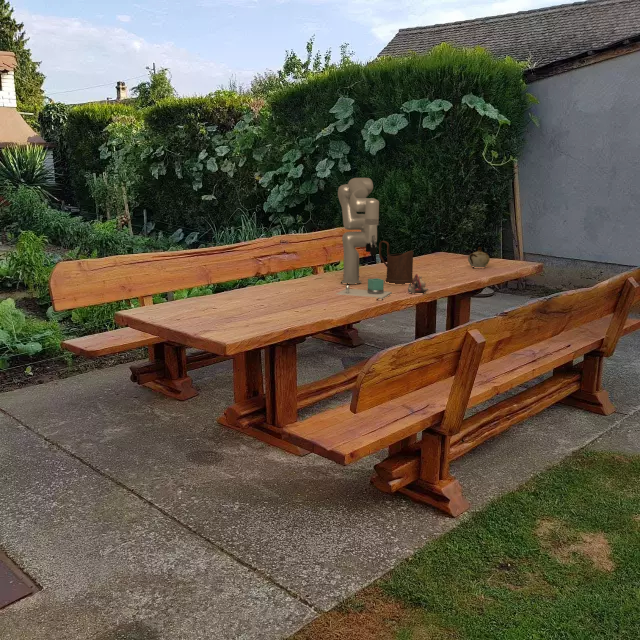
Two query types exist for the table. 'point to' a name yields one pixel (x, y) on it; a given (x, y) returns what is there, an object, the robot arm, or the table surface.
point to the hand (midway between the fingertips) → (370, 253)
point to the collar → (375, 284)
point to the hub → (375, 291)
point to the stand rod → (347, 288)
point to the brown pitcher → (398, 266)
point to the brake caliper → (417, 285)
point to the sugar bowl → (478, 258)
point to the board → (363, 293)
